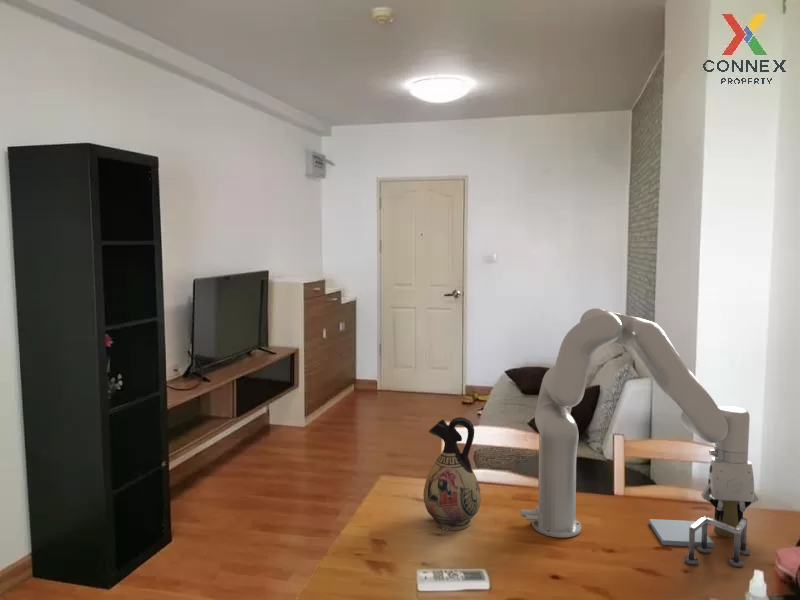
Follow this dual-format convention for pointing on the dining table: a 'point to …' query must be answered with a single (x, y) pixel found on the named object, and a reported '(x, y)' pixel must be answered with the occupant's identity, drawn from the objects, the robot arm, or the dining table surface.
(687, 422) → the robot arm
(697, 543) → the pad
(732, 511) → the cork
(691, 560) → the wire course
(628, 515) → the dining table surface
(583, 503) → the dining table surface
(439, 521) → the ceramic jug
